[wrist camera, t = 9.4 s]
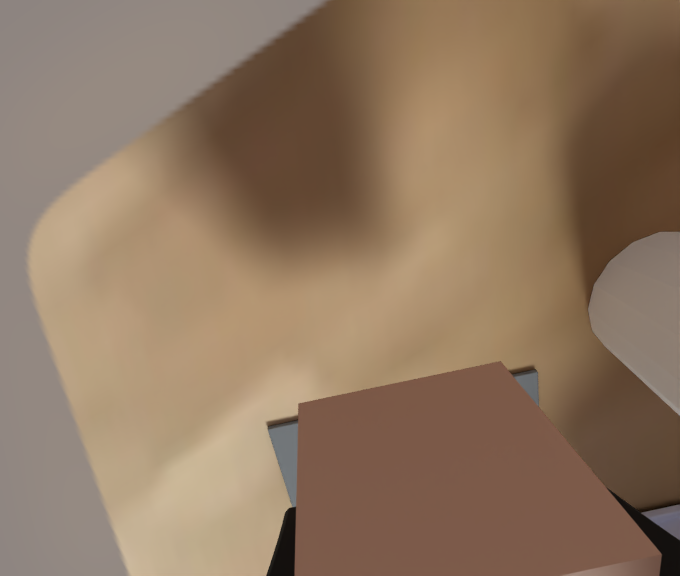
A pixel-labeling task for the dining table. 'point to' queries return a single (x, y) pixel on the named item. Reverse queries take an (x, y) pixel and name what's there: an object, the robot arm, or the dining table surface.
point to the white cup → (643, 312)
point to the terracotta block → (453, 487)
